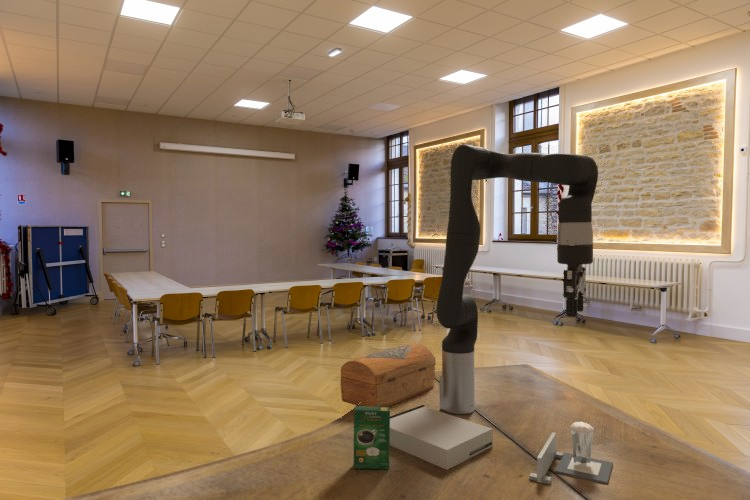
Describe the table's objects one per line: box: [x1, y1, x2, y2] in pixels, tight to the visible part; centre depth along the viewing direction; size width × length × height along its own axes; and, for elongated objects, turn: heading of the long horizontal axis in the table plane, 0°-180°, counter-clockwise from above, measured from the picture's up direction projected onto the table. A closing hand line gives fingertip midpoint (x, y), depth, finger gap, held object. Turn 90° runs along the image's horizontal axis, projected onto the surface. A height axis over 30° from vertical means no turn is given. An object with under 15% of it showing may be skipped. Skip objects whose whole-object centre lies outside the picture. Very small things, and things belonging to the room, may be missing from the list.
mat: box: [555, 452, 613, 485], centre depth 106 cm, size 10×10×1 cm
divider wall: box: [528, 431, 564, 485], centre depth 107 cm, size 4×15×5 cm, turn 149°
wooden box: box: [340, 342, 436, 407], centre depth 158 cm, size 30×16×14 cm, turn 138°
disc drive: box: [390, 404, 494, 470], centre depth 120 cm, size 18×22×5 cm
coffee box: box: [353, 405, 391, 471], centre depth 108 cm, size 8×3×13 cm, turn 86°
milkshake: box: [570, 419, 598, 468], centre depth 106 cm, size 4×5×10 cm
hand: (575, 313), depth 113 cm, fingers open, 8 cm apart
